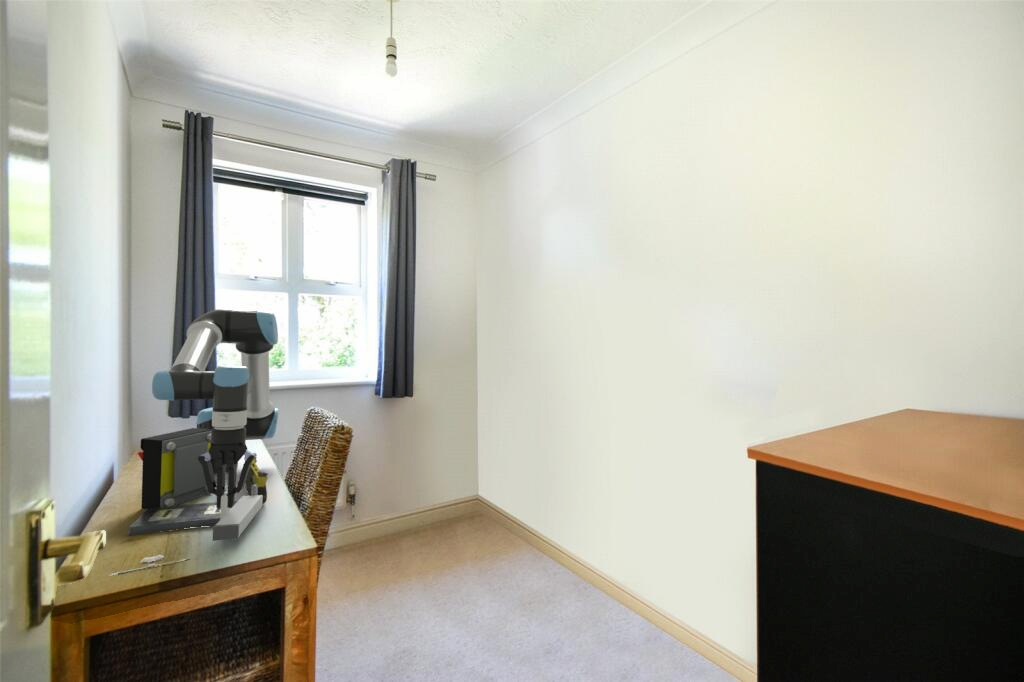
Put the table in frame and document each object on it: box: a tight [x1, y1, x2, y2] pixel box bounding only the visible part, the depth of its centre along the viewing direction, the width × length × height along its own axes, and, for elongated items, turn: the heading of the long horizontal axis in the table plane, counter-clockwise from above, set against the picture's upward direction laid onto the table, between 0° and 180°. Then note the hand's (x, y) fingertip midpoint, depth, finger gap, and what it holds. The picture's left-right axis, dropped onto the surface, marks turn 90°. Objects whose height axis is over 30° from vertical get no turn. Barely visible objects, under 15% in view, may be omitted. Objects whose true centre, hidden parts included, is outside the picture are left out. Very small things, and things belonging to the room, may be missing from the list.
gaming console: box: [242, 456, 269, 506], centre depth 147 cm, size 26×4×10 cm, turn 36°
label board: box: [128, 484, 258, 536], centre depth 128 cm, size 14×27×8 cm, turn 112°
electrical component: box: [137, 427, 212, 510], centre depth 142 cm, size 18×10×20 cm, turn 168°
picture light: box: [108, 554, 186, 577], centre depth 102 cm, size 14×4×2 cm, turn 125°
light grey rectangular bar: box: [212, 495, 263, 542], centre depth 120 cm, size 22×5×3 cm, turn 15°
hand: (224, 520), depth 119 cm, fingers closed
